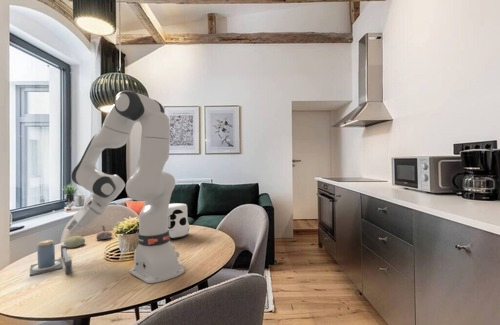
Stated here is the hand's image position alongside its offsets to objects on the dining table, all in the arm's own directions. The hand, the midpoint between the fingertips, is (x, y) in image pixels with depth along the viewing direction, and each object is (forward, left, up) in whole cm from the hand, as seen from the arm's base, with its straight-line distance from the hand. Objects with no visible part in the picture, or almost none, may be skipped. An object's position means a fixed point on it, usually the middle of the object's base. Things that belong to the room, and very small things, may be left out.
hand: (69, 231), depth 108 cm
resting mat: (0, +8, -14) cm, 16 cm away
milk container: (+4, -49, -14) cm, 51 cm away
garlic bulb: (+28, -18, -14) cm, 37 cm away
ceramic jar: (0, +8, -13) cm, 15 cm away
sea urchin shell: (+26, -4, -14) cm, 30 cm away
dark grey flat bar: (-1, +1, -14) cm, 14 cm away
